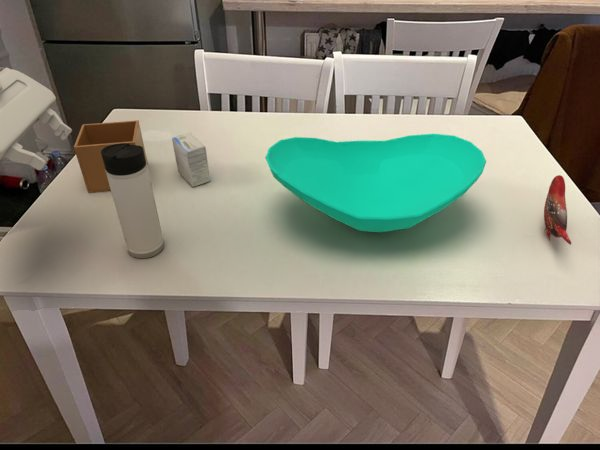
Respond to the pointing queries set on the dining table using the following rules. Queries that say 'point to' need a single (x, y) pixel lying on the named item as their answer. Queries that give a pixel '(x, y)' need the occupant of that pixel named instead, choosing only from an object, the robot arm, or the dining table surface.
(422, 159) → the table top decor
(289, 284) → the dining table surface
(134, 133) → the brown open box
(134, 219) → the travel mug
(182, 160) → the medicine box
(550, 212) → the decorative bird figurine
